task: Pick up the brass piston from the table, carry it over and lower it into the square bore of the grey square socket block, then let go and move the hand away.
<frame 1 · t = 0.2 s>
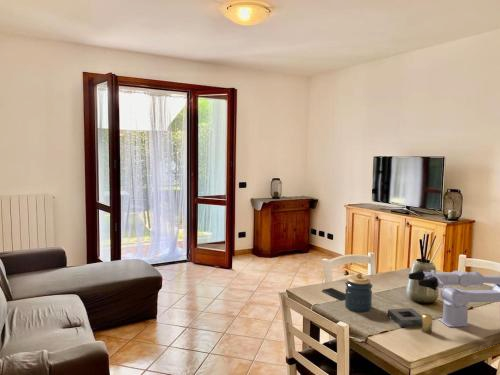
hand: (413, 279, 167), 21 cm above the table, tool horizontal, fingers open, 7 cm apart
canister: (358, 307, 189), on the table
piston: (426, 331, 163), on the table
phone: (335, 295, 206), on the table
grey square socket block: (406, 320, 174), on the table
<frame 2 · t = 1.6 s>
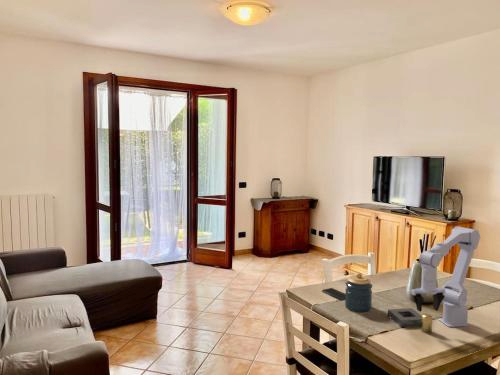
hand: (427, 310, 162), 9 cm above the table, tool pointing down, fingers open, 7 cm apart
nothing on the table moved.
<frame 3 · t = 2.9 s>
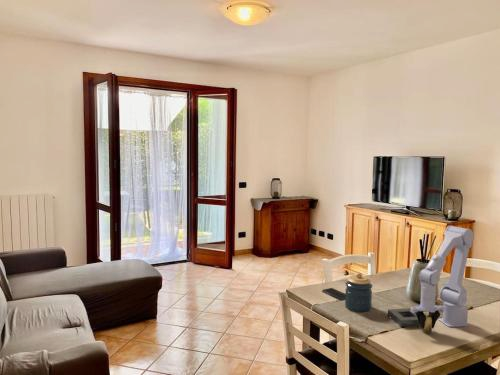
hand: (426, 327, 163), 2 cm above the table, tool pointing down, fingers closed on piston, 4 cm apart
piston: (426, 331, 163), on the table, touching gripper
everything else where it was.
when the fingers open (4 cm above the table, at t = 6.3 s): piston drops 2 cm, resting in grey square socket block.
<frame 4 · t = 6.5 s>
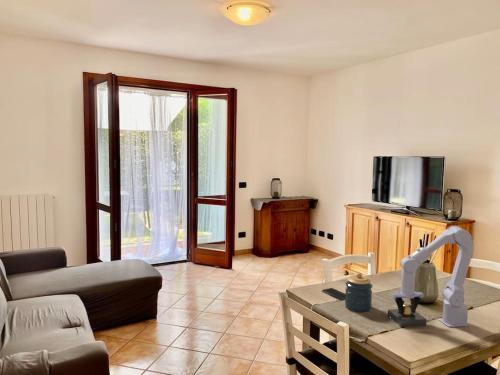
hand: (406, 312, 173), 4 cm above the table, tool pointing down, fingers open, 5 cm apart
piston: (406, 320, 174), resting in grey square socket block
everything else where it was.
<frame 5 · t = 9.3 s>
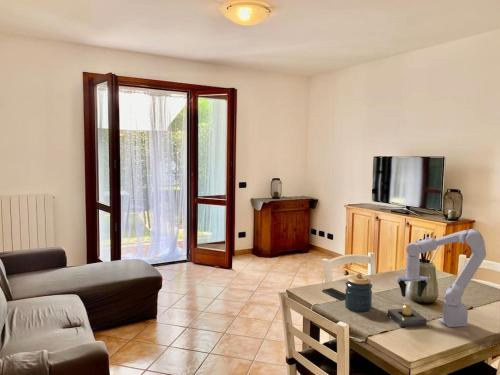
hand: (411, 296, 178), 9 cm above the table, tool pointing down, fingers open, 7 cm apart
nothing on the table moved.
at the end: piston 0.2 cm off-centre on the grey square socket block, point 0.0 cm above the grey square socket block's base; piston tilted 0°; the gripper is holding nothing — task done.
